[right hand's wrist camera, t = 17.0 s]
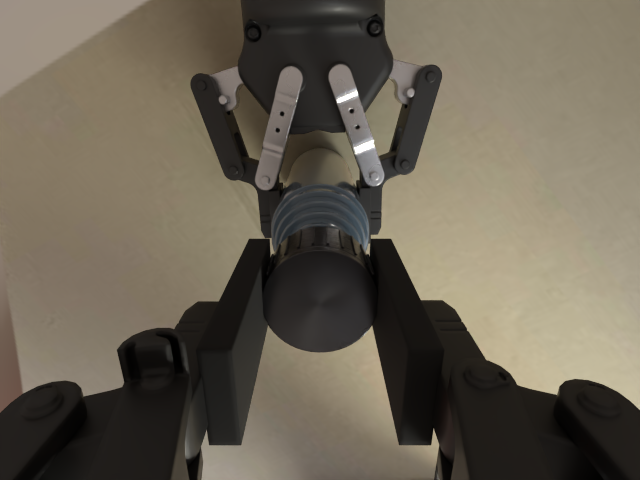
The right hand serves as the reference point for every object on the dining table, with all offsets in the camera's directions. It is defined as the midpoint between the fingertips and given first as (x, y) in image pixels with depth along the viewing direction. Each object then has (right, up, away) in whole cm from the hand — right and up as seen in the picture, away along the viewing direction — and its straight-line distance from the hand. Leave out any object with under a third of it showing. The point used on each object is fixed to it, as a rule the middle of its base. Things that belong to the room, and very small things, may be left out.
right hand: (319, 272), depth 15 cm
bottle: (0, +6, +16) cm, 17 cm away
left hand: (0, +1, +11) cm, 11 cm away
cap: (0, -1, -2) cm, 2 cm away
